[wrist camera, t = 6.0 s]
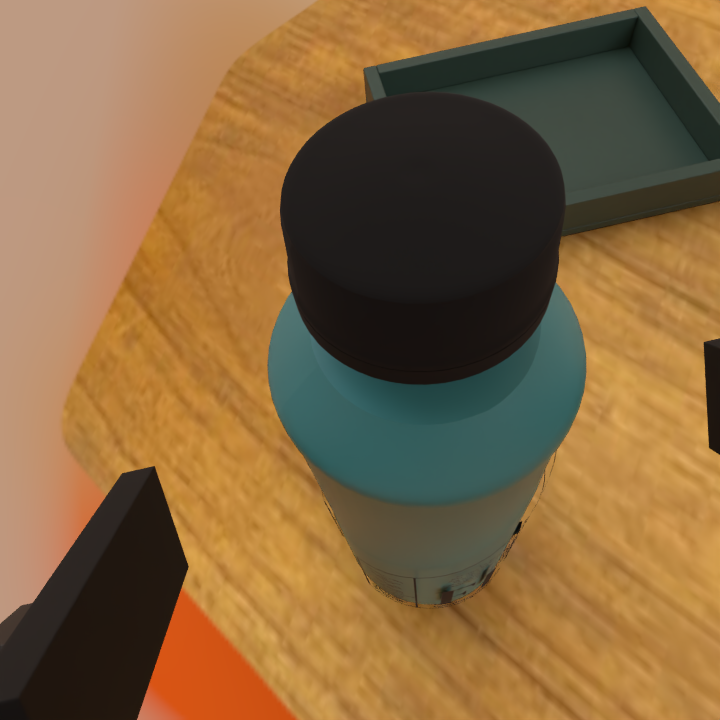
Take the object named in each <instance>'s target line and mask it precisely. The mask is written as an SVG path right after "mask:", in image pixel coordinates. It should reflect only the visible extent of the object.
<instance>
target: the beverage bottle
mask: <svg viewBox="0 0 720 720" xmlns="http://www.w3.org/2000/svg"><path fill="white" fill-rule="evenodd" d="M565 209H566V196H565V187H564V180H563V175H562V171H561V168H560V166H559V163H558V161H557V159H556V157H555V155H554V153H553V152H552V150H551V148H550V147H549V145H548V144H547V143H546V142H545V140H544V139H543V138H542V137H541V135H540V134H539V133H538V132H536V131H535V130H534V129H533V128H532V127H531V126H530V125H529V124H527V123H526V122H525V121H523V120H522V119H521V118H519V117H518V116H516V115H514V114H513V113H511V112H509V111H507V110H506V109H504V108H502V107H499V106H497V105H495V104H492V103H490V102H487V101H484V100H481V99H477V98H474V97H470V96H466V95H462V94H455V93H447V92H412V93H405V94H398V95H393V96H388V97H383V98H380V99H377V100H373V101H370V102H367V103H365V104H362V105H360V106H358V107H355V108H353V109H351V110H349V111H347V112H345V113H343V114H341V115H340V116H338V117H336V118H335V119H333V120H332V121H330V122H329V123H327V124H326V125H325V126H323V127H322V128H321V129H320V130H318V131H317V132H316V133H315V134H314V135H313V136H312V137H311V138H310V139H309V140H308V141H307V142H306V143H305V144H304V146H303V147H302V148H301V150H300V151H299V152H298V153H297V155H296V157H295V158H294V160H293V162H292V163H291V165H290V167H289V169H288V172H287V174H286V176H285V179H284V183H283V187H282V192H281V205H280V217H281V226H282V231H283V236H284V241H285V246H286V251H287V256H288V261H287V263H288V276H289V281H290V285H291V289H292V292H291V294H290V295H289V296H288V298H287V300H286V302H285V304H284V306H283V307H282V309H281V311H280V313H279V316H278V318H277V321H276V324H275V327H274V329H273V333H272V337H271V341H270V346H269V354H268V379H269V386H270V391H271V396H272V400H273V403H274V405H275V408H276V411H277V414H278V416H279V418H280V420H281V422H282V424H283V426H284V428H285V430H286V432H287V434H288V435H289V437H290V438H291V440H292V441H293V443H294V444H295V446H296V447H297V448H298V450H299V451H300V452H301V453H302V455H303V456H304V458H305V459H306V461H307V463H308V465H309V467H310V469H311V471H312V472H313V474H314V476H315V478H316V480H317V482H318V484H319V486H320V487H321V489H322V491H323V493H324V495H325V497H326V499H327V500H328V502H329V504H330V506H331V508H332V510H333V512H334V515H335V517H336V519H337V522H338V524H339V526H340V528H341V530H342V532H343V534H344V536H345V538H346V540H347V542H348V544H349V546H350V548H351V550H352V552H353V554H354V556H355V558H356V560H357V562H358V564H359V565H360V567H361V568H362V570H363V572H364V574H365V573H366V574H365V576H366V575H367V576H368V577H369V578H370V579H371V580H372V581H373V582H374V583H375V584H376V586H375V587H377V586H379V589H380V588H381V589H382V590H384V591H385V592H387V593H388V598H389V594H391V595H392V598H393V596H394V598H395V597H396V599H397V601H398V598H399V601H401V600H400V599H402V602H404V601H403V600H405V601H408V602H413V603H416V607H418V604H434V605H439V604H446V603H451V601H454V600H457V599H459V598H462V597H464V596H465V595H467V594H469V593H471V592H472V591H474V590H475V589H476V588H478V587H479V586H480V585H481V584H482V583H483V584H482V586H481V588H482V587H483V586H484V585H485V584H486V583H487V582H488V581H489V579H490V578H491V576H492V574H493V572H494V570H495V569H494V568H495V566H496V564H497V563H498V561H499V559H500V557H501V555H502V553H503V551H504V550H505V548H506V546H507V544H508V542H510V538H511V537H513V535H515V534H516V533H517V534H518V532H519V531H520V528H521V524H522V521H521V522H520V520H521V518H522V516H523V514H524V512H525V510H526V509H527V507H528V505H529V503H530V501H531V499H532V497H533V495H534V493H535V491H536V489H537V487H538V485H539V482H540V480H541V478H542V475H543V473H544V471H545V468H546V466H547V464H548V462H549V460H550V458H551V456H552V454H553V453H554V452H555V451H557V449H558V447H559V446H560V444H561V443H562V441H563V440H564V438H565V437H566V435H567V434H568V432H569V430H570V428H571V426H572V423H573V421H574V419H575V417H576V414H577V412H578V410H579V407H580V403H581V400H582V396H583V393H584V387H585V380H586V352H585V346H584V340H583V334H582V331H581V328H580V325H579V322H578V319H577V316H576V314H575V312H574V310H573V308H572V306H571V304H570V302H569V300H568V299H567V297H566V296H565V294H564V293H563V291H562V290H561V288H560V287H559V286H558V285H557V283H556V278H557V272H558V264H559V251H558V250H559V244H560V239H561V234H562V228H563V223H564V217H565ZM555 456H556V454H555ZM554 461H555V459H554ZM552 468H553V467H552ZM551 471H552V470H551ZM550 474H551V473H550ZM549 477H550V476H549ZM544 482H545V475H544ZM546 484H547V483H546ZM543 487H544V485H543ZM542 490H543V489H542ZM323 493H322V494H323ZM541 493H543V492H541ZM538 501H539V500H538ZM537 503H538V502H537ZM325 504H326V503H325ZM326 505H327V504H326ZM535 506H536V505H535ZM327 507H328V506H327ZM328 509H329V508H328ZM329 511H330V510H329ZM532 511H533V510H532ZM330 513H331V512H330ZM331 515H332V514H331ZM332 517H333V516H332ZM333 518H334V517H333ZM527 519H528V518H527ZM527 519H526V520H527ZM334 520H335V519H334ZM335 522H336V521H335ZM526 522H527V521H525V522H524V523H526ZM336 524H337V523H336ZM337 526H338V525H337ZM523 527H524V525H523ZM338 528H339V527H338ZM341 530H340V531H341ZM342 532H341V533H342ZM343 534H342V535H343ZM517 536H518V535H517ZM516 538H517V537H516ZM513 539H514V538H513ZM514 540H516V539H514ZM514 540H513V542H512V544H513V543H514ZM512 544H511V545H510V544H509V545H510V546H513V545H512ZM508 549H509V550H510V549H511V547H510V548H507V550H508ZM507 550H506V552H509V550H508V551H507ZM505 554H506V553H505ZM507 554H508V553H507ZM504 556H505V555H504V554H503V556H502V559H503V557H504ZM506 556H507V555H506ZM506 556H505V557H506ZM501 561H502V560H501ZM503 561H504V560H503ZM498 570H499V569H498ZM495 574H497V573H495ZM367 576H366V578H367ZM494 576H495V575H494ZM491 579H492V578H491ZM367 580H368V578H367ZM490 581H491V580H490ZM490 581H489V582H490ZM368 582H369V580H368ZM489 582H488V583H489ZM369 583H370V582H369ZM374 583H373V584H374ZM370 585H371V584H370ZM377 589H378V588H377ZM379 589H378V590H379ZM378 590H377V591H378ZM382 590H381V591H382ZM478 590H479V589H478ZM385 592H384V593H385ZM477 592H478V591H477ZM479 592H480V590H479ZM384 593H383V594H384ZM391 595H390V596H391ZM473 595H474V594H473ZM386 597H387V595H386ZM472 597H473V596H472ZM467 598H468V597H467ZM470 598H471V597H470ZM468 599H469V598H468ZM464 600H465V599H464ZM397 601H396V602H397ZM461 601H462V600H461ZM458 602H459V601H458ZM399 603H400V602H399ZM417 603H418V604H417ZM455 603H457V602H455ZM460 603H461V602H460ZM402 604H403V603H402ZM452 604H454V603H452ZM457 604H458V603H457ZM447 605H448V604H447ZM450 605H451V604H450ZM454 605H455V604H454ZM408 606H410V605H408ZM442 606H443V605H442ZM444 606H445V605H444ZM451 606H452V605H451ZM413 607H414V606H413ZM434 607H435V606H434ZM437 607H438V606H437ZM439 607H440V606H439ZM446 607H447V606H446ZM418 608H421V607H418ZM441 608H442V607H441Z"/></svg>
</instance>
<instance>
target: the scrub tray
mask: <svg viewBox="0 0 720 720" xmlns="http://www.w3.org/2000/svg"><path fill="white" fill-rule="evenodd" d="M363 71H364V81H365V91H366V102H370V101H373V100H377V99H380V98H383V97H388V96H393V95H398V94H405V93H412V92H447V93H455V94H462V95H466V96H470V97H474V98H477V99H481V100H484V101H487V102H490V103H492V104H495V105H497V106H499V107H502V108H504V109H506V110H507V111H509V112H511V113H513V114H514V115H516V116H518V117H519V118H521V119H522V120H523V121H525V122H526V123H527V124H529V125H530V126H531V127H532V128H533V129H534V130H535V131H536V132H538V133H539V134H540V135H541V137H542V138H543V139H544V140H545V142H546V143H547V144H548V145H549V147H550V148H551V150H552V152H553V153H554V155H555V157H556V159H557V161H558V163H559V166H560V168H561V171H562V175H563V180H564V187H565V196H566V209H565V217H564V223H563V228H562V234H561V236H566V235H570V234H575V233H579V232H584V231H588V230H592V229H597V228H601V227H606V226H610V225H615V224H619V223H624V222H628V221H632V220H637V219H641V218H646V217H650V216H655V215H659V214H663V213H668V212H672V211H677V210H681V209H686V208H690V207H695V206H699V205H703V204H708V203H712V202H717V201H720V103H719V102H718V100H717V99H716V98H715V96H714V95H713V94H712V93H711V91H710V90H709V89H708V87H707V86H706V85H705V83H704V82H703V81H702V79H701V78H700V77H699V75H698V74H697V73H696V72H695V70H694V69H693V68H692V66H691V65H690V64H689V62H688V61H687V60H686V58H685V57H684V56H683V55H682V53H681V52H680V51H679V49H678V48H677V47H676V45H675V44H674V43H673V41H672V40H671V39H670V38H669V36H668V35H667V34H666V32H665V31H664V30H663V28H662V27H661V26H660V24H659V23H658V22H657V20H656V19H655V18H654V17H653V15H652V14H651V13H650V11H649V10H648V9H647V7H640V8H635V9H634V10H633V9H631V10H626V11H622V12H617V13H613V14H608V15H604V16H599V17H595V18H590V19H585V20H581V21H576V22H572V23H567V24H563V25H558V26H553V27H549V28H544V29H540V30H535V31H531V32H526V33H522V34H517V35H512V36H508V37H503V38H499V39H494V40H490V41H485V42H480V43H476V44H471V45H467V46H462V47H458V48H453V49H449V50H444V51H439V52H435V53H430V54H426V55H421V56H417V57H412V58H407V59H403V60H398V61H394V62H389V63H385V64H380V65H377V66H371V67H367V68H364V70H363Z"/></svg>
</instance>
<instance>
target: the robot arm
mask: <svg viewBox="0 0 720 720" xmlns="http://www.w3.org/2000/svg"><path fill="white" fill-rule="evenodd" d="M704 358H705V378H706V397H707V416H708V436H709V448H710V449H712V450H713V451H715V452H716V453H718V454H719V455H720V339H715V340H711V341H706V342H704ZM188 567H189V566H188V563H187V561H186V558H185V555H184V552H183V549H182V546H181V543H180V540H179V537H178V534H177V531H176V528H175V525H174V522H173V519H172V516H171V513H170V510H169V507H168V504H167V501H166V498H165V496H164V493H163V490H162V487H161V484H160V481H159V478H158V475H157V472H156V469H155V466H153V467H148V468H144V469H140V470H135V471H131V472H126V473H122V474H121V476H120V477H119V479H118V480H117V482H116V483H115V484H114V486H113V487H112V489H111V490H110V492H109V493H108V495H107V496H106V498H105V499H104V500H103V502H102V503H101V505H100V507H99V508H98V509H97V511H96V512H95V514H94V515H93V516H92V518H91V520H90V521H89V522H88V524H87V525H86V527H85V528H84V529H83V531H82V532H81V534H80V535H79V537H78V538H77V540H76V541H75V543H74V544H73V546H72V547H71V548H70V550H69V551H68V553H67V554H66V556H65V557H64V559H63V560H62V561H61V563H60V564H59V566H58V567H57V569H56V570H55V572H54V573H53V575H52V576H51V578H50V579H49V580H48V582H47V583H46V585H45V586H44V588H43V589H42V590H41V592H40V594H39V595H38V596H37V598H36V599H35V601H34V602H33V603H31V604H27V605H22V606H20V607H19V608H18V609H17V610H16V611H15V612H13V613H12V614H11V615H10V616H9V617H8V618H7V619H5V620H4V621H3V622H2V623H1V624H0V720H137V718H138V715H139V712H140V708H141V706H142V703H143V700H144V697H145V694H146V691H147V688H148V685H149V682H150V679H151V676H152V673H153V671H154V668H155V664H156V662H157V659H158V656H159V653H160V649H161V647H162V644H163V641H164V637H165V635H166V632H167V629H168V626H169V623H170V620H171V617H172V614H173V611H174V608H175V605H176V602H177V599H178V597H179V593H180V591H181V588H182V585H183V582H184V579H185V576H186V573H187V570H188Z"/></svg>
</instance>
